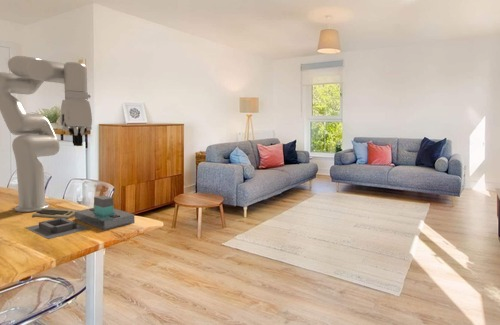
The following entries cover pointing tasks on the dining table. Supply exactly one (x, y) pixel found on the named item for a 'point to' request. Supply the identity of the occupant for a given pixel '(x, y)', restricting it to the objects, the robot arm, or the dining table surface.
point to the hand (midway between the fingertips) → (77, 145)
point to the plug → (103, 205)
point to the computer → (55, 213)
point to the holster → (57, 228)
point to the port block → (104, 218)
